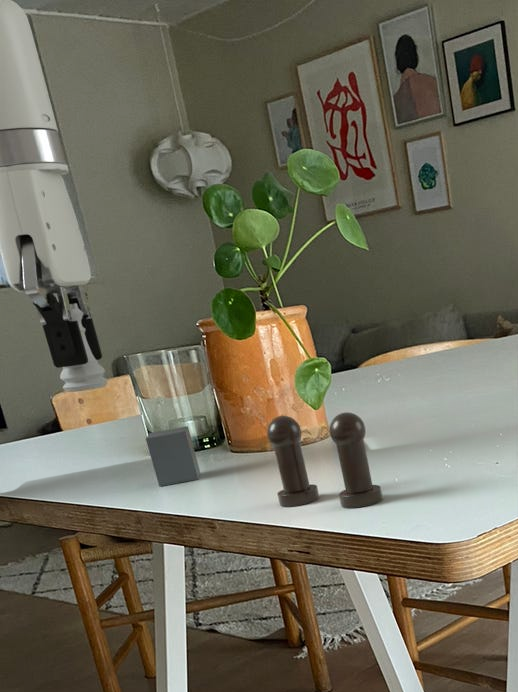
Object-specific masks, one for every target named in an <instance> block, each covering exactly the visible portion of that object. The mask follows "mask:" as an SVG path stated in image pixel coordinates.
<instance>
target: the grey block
mask: <svg viewBox="0 0 518 692" xmlns="http://www.w3.org/2000/svg"><path fill="white" fill-rule="evenodd" d="M192 440H193V439H192V437H191V433H190V429H189V426H188V425H187V426H182V427H176V428H169V429H165V430H159V431H154V432H149V433H148V434H147V436H146V438H145V441H146V446H147V449H148V452H149V456H150V459H151V463H152V466H153V469H154V470H153V471H154V473H155V476H156V481H157V483H158V487H165V486H171V485H176V484H180V483H186V482H191V481H192V482H193V481H196V480H199V478H200V474H201V470H200V467H199V466H200V465H199V462H198V459H197V455H196V451H195V448H194V443H193V441H192Z"/></svg>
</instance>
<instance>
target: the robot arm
mask: <svg viewBox="0 0 518 692" xmlns="http://www.w3.org/2000/svg"><path fill="white" fill-rule="evenodd" d="M46 83H47V82H46V80H45V75H44V72H43V68H42V65H41V61H40V57H39V53H38V49H37V47H36V42H35V38H34V35H33V31H32V28H31V25H30V21H29V18H28V16H27V14H26V13H25V10H24V9H23V8H22V7H21V6H20V5H19V4H18V3H16V2H15V1H13V0H0V255H1V261H2V264H3V267H4V272H5V275H6V279H7V282H8V284H9V286H10V287H11V288H12V289H13V290H14V291H16V292H19V293H25V295H26V297H28V299H30V300H31V301H32V304H33V306H35V307H36V312H37V316H38V320H39V323H40V324H41V325H42V330H43V332H44V335H45V339H46V343H47V346H48V349H49V352H50V356H51V360H52V364H53V365H54V367H56V368H60V369H61V368H62V367H68V366H75V365H83V364H86V363H87V362H88V357H87V353H86V350H85V346H84V343H83V339H82V336H81V332H80V328H79V325H78V321H72V313H71V309H70V304H76V303H77V306H78V308H79V309H80V310H81V311H82V312H83V313H84V314H83V317H82V319H81V324H82V326H83V327H84V328H85V329H86V330H85V332H84V333H85V337H86V340H87V343H88V345H89V347H90V350H91V352H92V354H93V356H94V358H95V359H96V360H98V361H99V360H101V359H103V353H102V349H101V346H100V341H99V338H98V335H97V331H96V327H95V324H94V320H93V314H92V309H91V306H90V303H89V301H88V299H89V297H88V291H89V285H88V283H89V282H90V280H91V278H92V273H91V266H90V262H89V258H88V254H87V250H86V246H85V243H84V239H83V235H82V232H81V228H80V226H79V222H78V220H77V216H76V213H75V210H74V206H73V203H72V200H71V197H70V195H69V192H68V189H67V186H66V183H65V181H64V177H63V176H64V175H67V174H69V172H70V170H69V165H68V162H67V159H66V155H65V152H64V148H63V144H62V140H61V136H60V133H59V129H58V126H57V121H56V117H55V113H54V110H53V107H52V103H51V102H52V101H51V99H50V95H49V90H48V88H47V84H46Z"/></svg>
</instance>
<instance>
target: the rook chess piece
mask: <svg viewBox="0 0 518 692" xmlns="http://www.w3.org/2000/svg"><path fill="white" fill-rule="evenodd" d="M70 309H71V313H72V321H78V325H79V328H80V332H81V336H82V339H83V343H84V346H85V350H86V353H87V357H88V362H87V363H86V364H83V365H75V366H68V367H61V368H62V369H61V372H60V376H59V377H60V380H62V381H63V382H64V385H62V390H64V391H65V392H67V393H76V392H84V391H89V390H90V391H91V390H96V389H100V388H101V389H102V388H104V387H107V385H108V382H109V379H108V378H107V377H104V375H105V373H106V370H105V368H104V367H103V366H102V365H101V364H100V363H99V362H98V361H99V360H96V359H95V358H94V356H93V354H92V352H91V350H90V347H89V345H88V343H87V340H86V337H85V333H84V332H85V330H86V329H85V328H84V327H83V326H82V324H81V319H82V317H83V314H84V313H83V312H82V311H81V310H80V309H79V308H78V306H77V303H76V304H70Z"/></svg>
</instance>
